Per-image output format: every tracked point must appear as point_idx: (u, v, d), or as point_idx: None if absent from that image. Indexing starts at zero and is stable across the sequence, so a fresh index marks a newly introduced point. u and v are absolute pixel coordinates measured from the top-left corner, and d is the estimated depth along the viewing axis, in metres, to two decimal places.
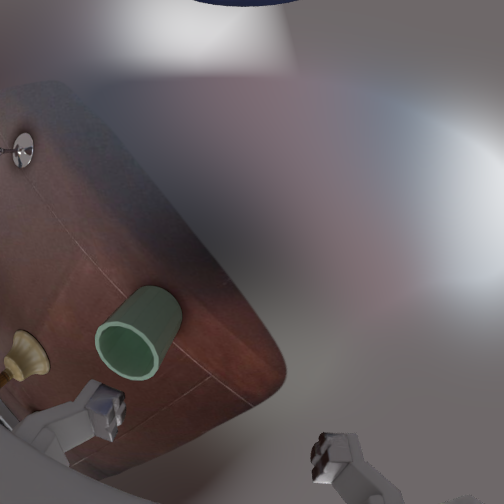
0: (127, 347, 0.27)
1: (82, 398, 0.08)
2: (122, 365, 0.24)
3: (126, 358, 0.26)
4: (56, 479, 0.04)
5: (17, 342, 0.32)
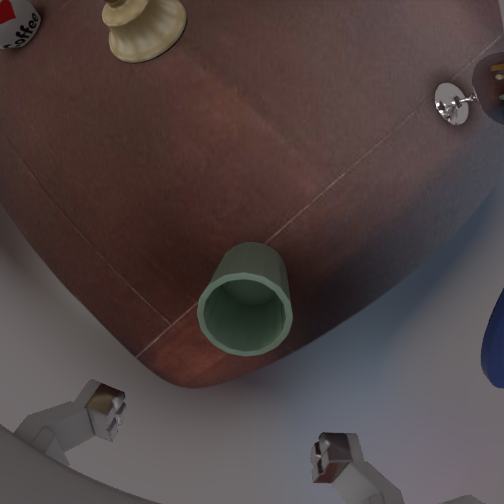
0: None
1: (82, 398, 0.08)
2: None
3: None
4: (56, 479, 0.04)
5: (169, 11, 0.19)
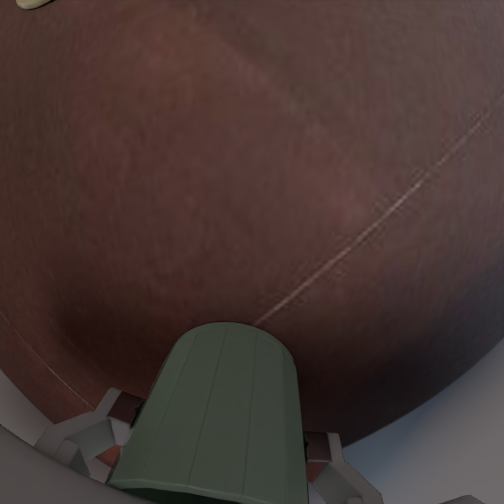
0: None
1: (103, 407, 0.08)
2: None
3: None
4: (56, 479, 0.04)
5: None
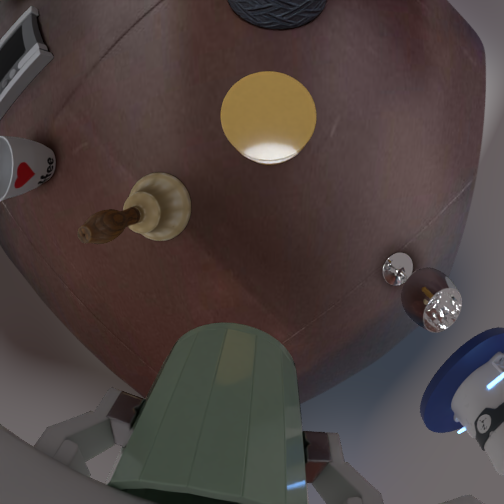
0: None
1: (103, 407, 0.08)
2: None
3: None
4: (56, 479, 0.04)
5: (176, 206, 0.32)
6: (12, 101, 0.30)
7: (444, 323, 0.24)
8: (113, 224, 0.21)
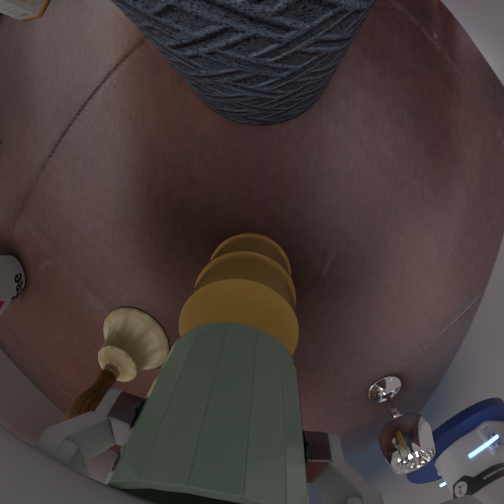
0: None
1: (103, 407, 0.08)
2: None
3: None
4: (56, 479, 0.04)
5: (153, 349, 0.29)
6: None
7: (417, 461, 0.21)
8: None
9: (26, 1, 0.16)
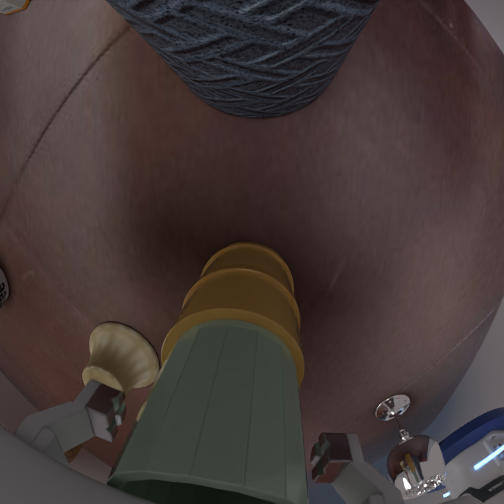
0: None
1: (82, 398, 0.08)
2: None
3: None
4: (56, 479, 0.04)
5: (141, 368, 0.25)
6: None
7: (425, 484, 0.18)
8: (73, 450, 0.14)
9: None
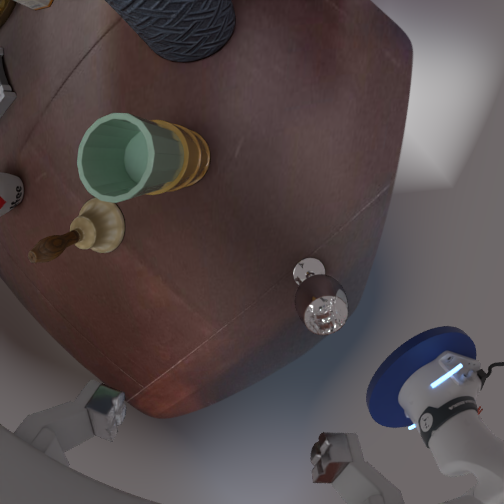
0: (111, 138, 0.21)
1: (82, 398, 0.08)
2: (92, 143, 0.18)
3: (99, 143, 0.19)
4: (56, 479, 0.04)
5: (111, 225, 0.37)
6: None
7: (336, 327, 0.30)
8: (52, 248, 0.26)
9: None
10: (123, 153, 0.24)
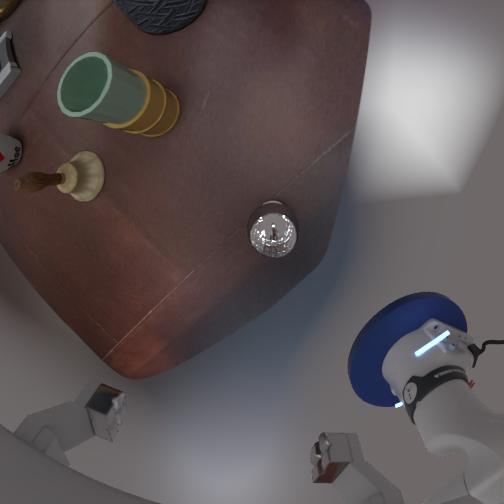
0: (87, 78, 0.22)
1: (82, 398, 0.08)
2: (70, 78, 0.20)
3: (77, 80, 0.21)
4: (56, 479, 0.04)
5: (92, 173, 0.39)
6: None
7: (287, 252, 0.31)
8: (35, 179, 0.28)
9: None
10: (98, 95, 0.26)
